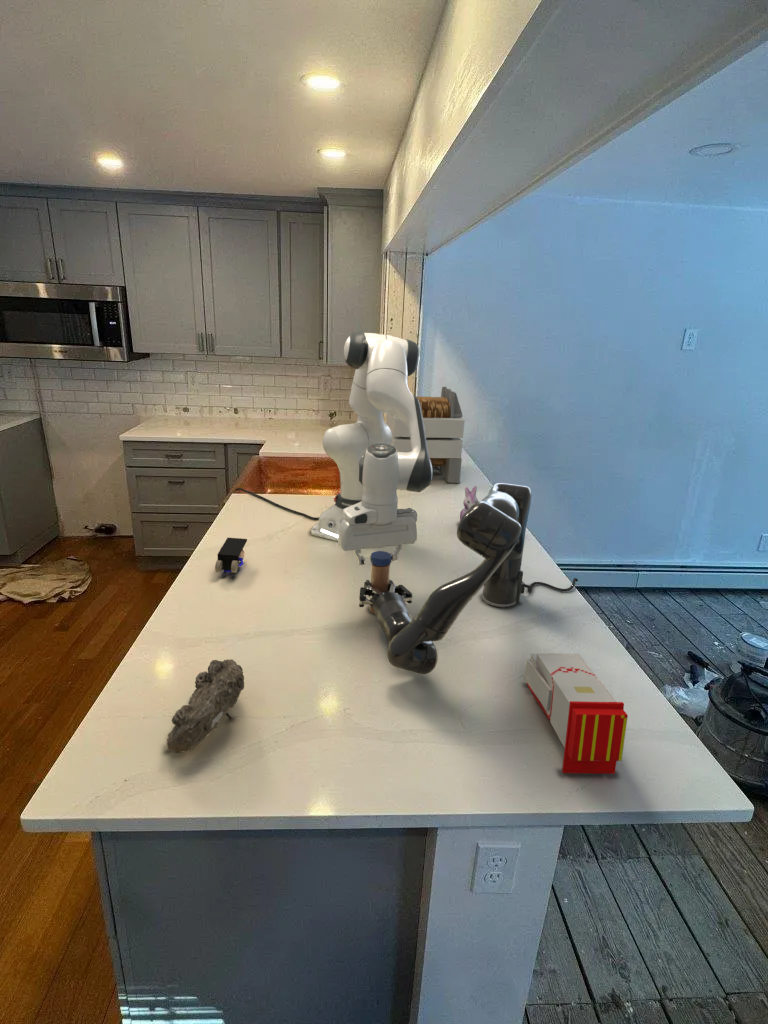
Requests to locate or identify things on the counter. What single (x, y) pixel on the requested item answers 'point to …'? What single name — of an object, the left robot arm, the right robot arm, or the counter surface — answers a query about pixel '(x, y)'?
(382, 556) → the lid
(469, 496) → the figurine
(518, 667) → the counter surface
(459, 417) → the transformer
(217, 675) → the fossil
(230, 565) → the black wheeled block
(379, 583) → the jar
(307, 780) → the counter surface
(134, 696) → the counter surface
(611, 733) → the toy
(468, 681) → the counter surface
